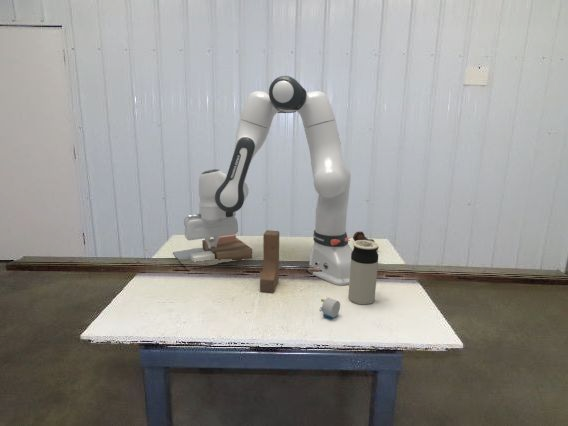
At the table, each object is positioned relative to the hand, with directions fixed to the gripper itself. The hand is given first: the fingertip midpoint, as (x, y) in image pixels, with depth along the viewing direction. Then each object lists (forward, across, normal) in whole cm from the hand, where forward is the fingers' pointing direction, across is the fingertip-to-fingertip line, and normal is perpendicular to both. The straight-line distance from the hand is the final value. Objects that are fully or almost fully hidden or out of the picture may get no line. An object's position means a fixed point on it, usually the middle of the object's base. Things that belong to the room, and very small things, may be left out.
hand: (212, 247), depth 141 cm
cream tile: (+4, -4, 0) cm, 6 cm away
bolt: (+6, +65, -15) cm, 67 cm away
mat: (+5, -6, +4) cm, 9 cm away
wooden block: (+5, +8, -31) cm, 33 cm away
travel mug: (+5, +30, -52) cm, 60 cm away
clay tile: (+1, +8, +9) cm, 12 cm away
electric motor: (+5, +14, -55) cm, 57 cm away
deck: (+5, +8, +4) cm, 10 cm away
